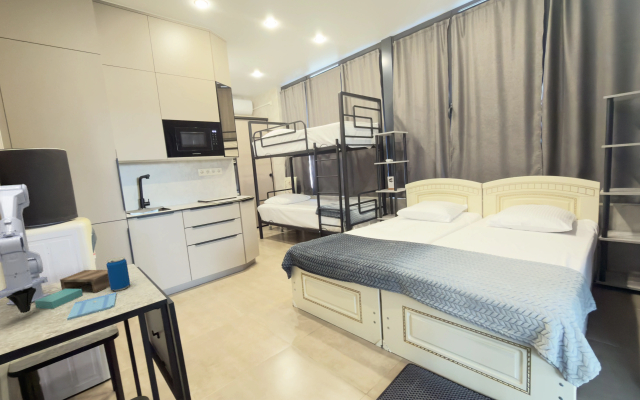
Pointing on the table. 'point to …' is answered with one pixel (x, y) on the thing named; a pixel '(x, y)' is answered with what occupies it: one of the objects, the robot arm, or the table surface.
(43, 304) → the teal slab tile
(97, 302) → the light blue flat pad
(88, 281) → the wooden box
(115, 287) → the beverage can
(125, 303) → the table surface
